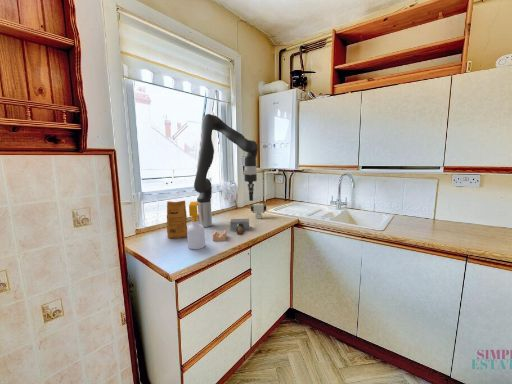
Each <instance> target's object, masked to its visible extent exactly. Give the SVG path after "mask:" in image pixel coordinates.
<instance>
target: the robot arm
mask: <svg viewBox="0 0 512 384" xmlns="http://www.w3.org/2000/svg"><path fill="white" fill-rule="evenodd" d="M201 124H202V125H201V140H200V148H199V154H198V164H197V170H196V175H195V178H194V181H193V182H194V183H193V188H194V190H195V192H196V193H199V195H198V197H196V198H197V199H196V202H198V205H197V214H199V215H198V216H197V217H196V218H197V219H198V223H199V224H200V225H202V226H203V227H204V228H208V227H211V226H213V218H212V217H213V215H212V194H213V191H212V188H213V187H212V186H213V185H212V182H211V180H210V179H209V178H207V174H208V172H209V169H210V168H211V165H212V163H213V162H214V157H215V149H214V144H213V140H212V139H213V138H212V136H213V131H216V132H219V133H221V134H222V135H224V136H225V137H226V138H227V139H228V140H229V141H231V142H232V143H233V144H235V145H236V146H238V148H239V149H241V151H243V152H246V154H247V155H246V156H245V157H244V169H243V170H244V171H243V172H244V182H248V183H247V191H248V197H249V198H248V199H249V200H248V201H254V191H255V188H254V187H255V184H254V182H257V180H258V178H257V176H258V175H257V173H258V172H257V156H258V155H257V154H258V149H259V147H258V144H257V142H256V141H255V140H251V139H248V138H246V137H245V135H243V134H242V133H240V132H239V131H238V130H235V129H234V128H232V126H231V127H230V126H229V125H228V124H227V123H225V122H224V121H223V120H222V119H221V118H220V117H218V116H217V115H214V114H211V113H207V114H205V115H204V116H203V118H202V123H201Z"/></svg>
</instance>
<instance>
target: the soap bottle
mask: <svg viewBox="0 0 512 384" xmlns="http://www.w3.org/2000/svg"><path fill="white" fill-rule="evenodd" d="M188 210H189V211H188V213H189V214H188V215H189V217H192V219H191V224H190V225H189V226H187V236H186V237H187V247H188V249H189V250H190V249H191V250H199V249H203V248H205V246H206V236H205V235H206V233H205V227H203V226H202V225H200V224H199V223H198V218H197V216H198V215H199V214H197V213H198V202H197V201H190V203H189V204H188Z"/></svg>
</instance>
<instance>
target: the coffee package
mask: <svg viewBox="0 0 512 384" xmlns="http://www.w3.org/2000/svg"><path fill="white" fill-rule="evenodd" d="M187 217H188V215H187V207H186V200H179V201H170V200H169V201H167V202H166V234H167V238H168V239H173V238H175V239H181V238H186V237H187V228H188V224H187V223H188V221H187V220H188V219H187Z"/></svg>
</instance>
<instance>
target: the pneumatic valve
mask: <svg viewBox="0 0 512 384" xmlns="http://www.w3.org/2000/svg"><path fill="white" fill-rule="evenodd" d="M266 211H267V205H266V204H265V203H260V202H258V203H253V204H252V205H250V212H252V213H253V214H255V216H254V217H255V219H260V220H261V219H262V218H263V214H264V213H265V212H266Z"/></svg>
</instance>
